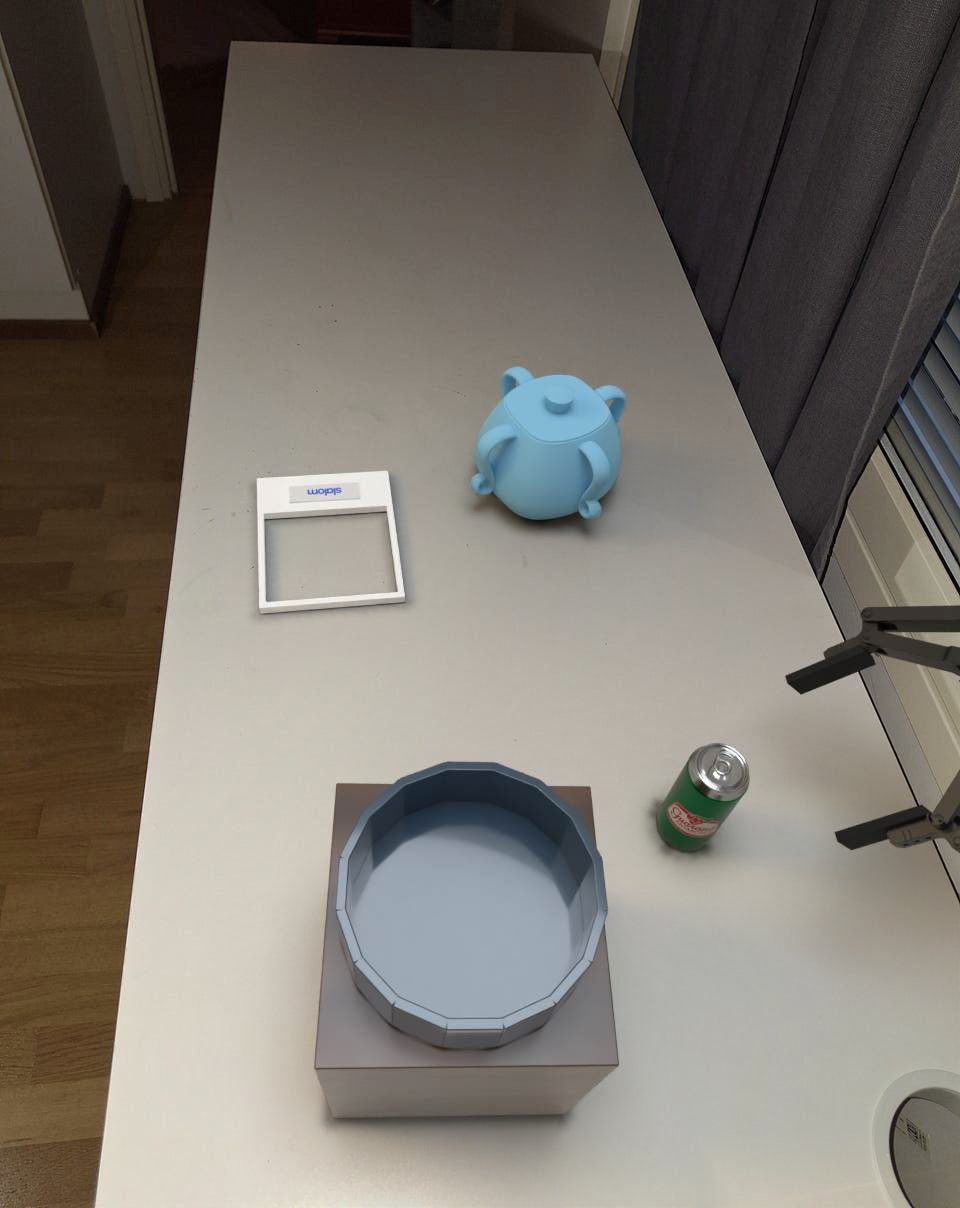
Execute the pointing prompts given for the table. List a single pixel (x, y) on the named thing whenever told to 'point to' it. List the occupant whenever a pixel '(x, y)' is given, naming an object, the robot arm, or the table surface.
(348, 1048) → the stand
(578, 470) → the decorative pot
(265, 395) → the table surface
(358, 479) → the photo frame
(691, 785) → the soda can
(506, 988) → the bowl
